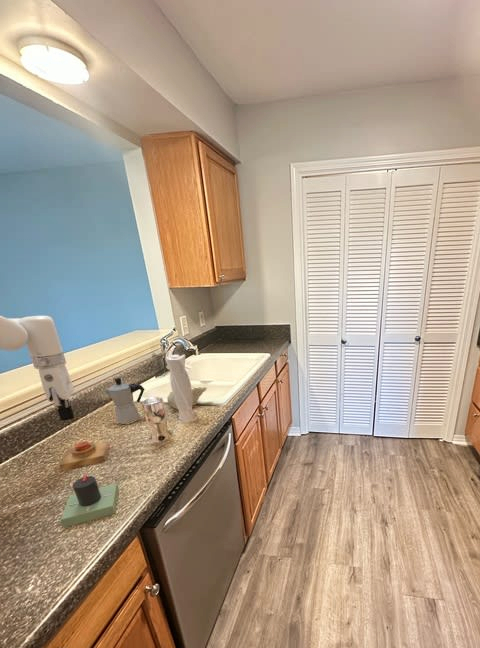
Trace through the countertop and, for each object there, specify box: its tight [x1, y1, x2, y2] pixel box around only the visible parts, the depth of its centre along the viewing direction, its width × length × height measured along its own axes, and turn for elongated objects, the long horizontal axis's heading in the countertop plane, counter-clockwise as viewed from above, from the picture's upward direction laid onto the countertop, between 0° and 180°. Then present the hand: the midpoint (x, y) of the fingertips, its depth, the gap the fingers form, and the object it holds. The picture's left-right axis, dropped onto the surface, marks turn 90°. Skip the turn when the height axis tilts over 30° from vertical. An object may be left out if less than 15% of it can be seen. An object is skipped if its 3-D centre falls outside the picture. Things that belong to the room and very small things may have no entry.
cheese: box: [167, 386, 208, 410], centre depth 141 cm, size 15×7×15 cm
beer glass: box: [141, 396, 172, 444], centre depth 112 cm, size 7×7×15 cm
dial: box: [72, 475, 101, 506], centre depth 81 cm, size 5×5×6 cm
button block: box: [58, 441, 110, 472], centre depth 105 cm, size 12×10×4 cm
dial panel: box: [60, 483, 120, 529], centre depth 82 cm, size 11×10×3 cm
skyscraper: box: [165, 349, 197, 424], centre depth 124 cm, size 8×8×28 cm
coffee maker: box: [102, 377, 146, 424], centre depth 128 cm, size 15×9×18 cm, turn 104°
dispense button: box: [74, 440, 90, 451], centre depth 104 cm, size 4×4×2 cm
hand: (67, 418), depth 99 cm, fingers closed
